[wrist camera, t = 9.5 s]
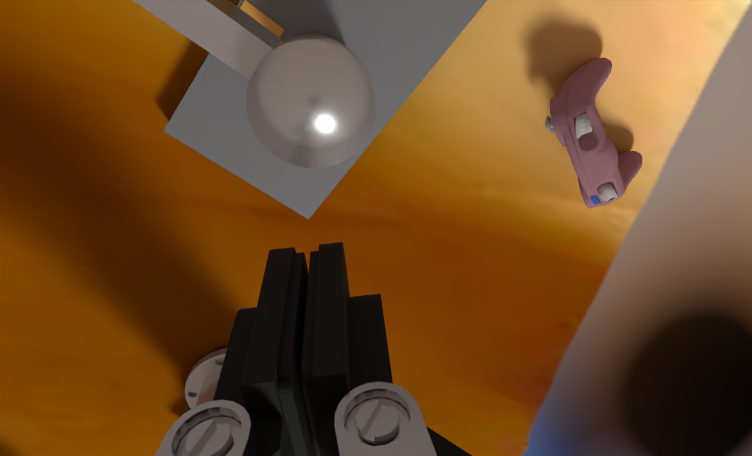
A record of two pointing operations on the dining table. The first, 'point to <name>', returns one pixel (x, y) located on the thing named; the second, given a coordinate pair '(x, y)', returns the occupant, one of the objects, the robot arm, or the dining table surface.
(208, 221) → the dining table surface
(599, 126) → the video game controller
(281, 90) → the lever
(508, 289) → the dining table surface
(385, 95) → the base plate
